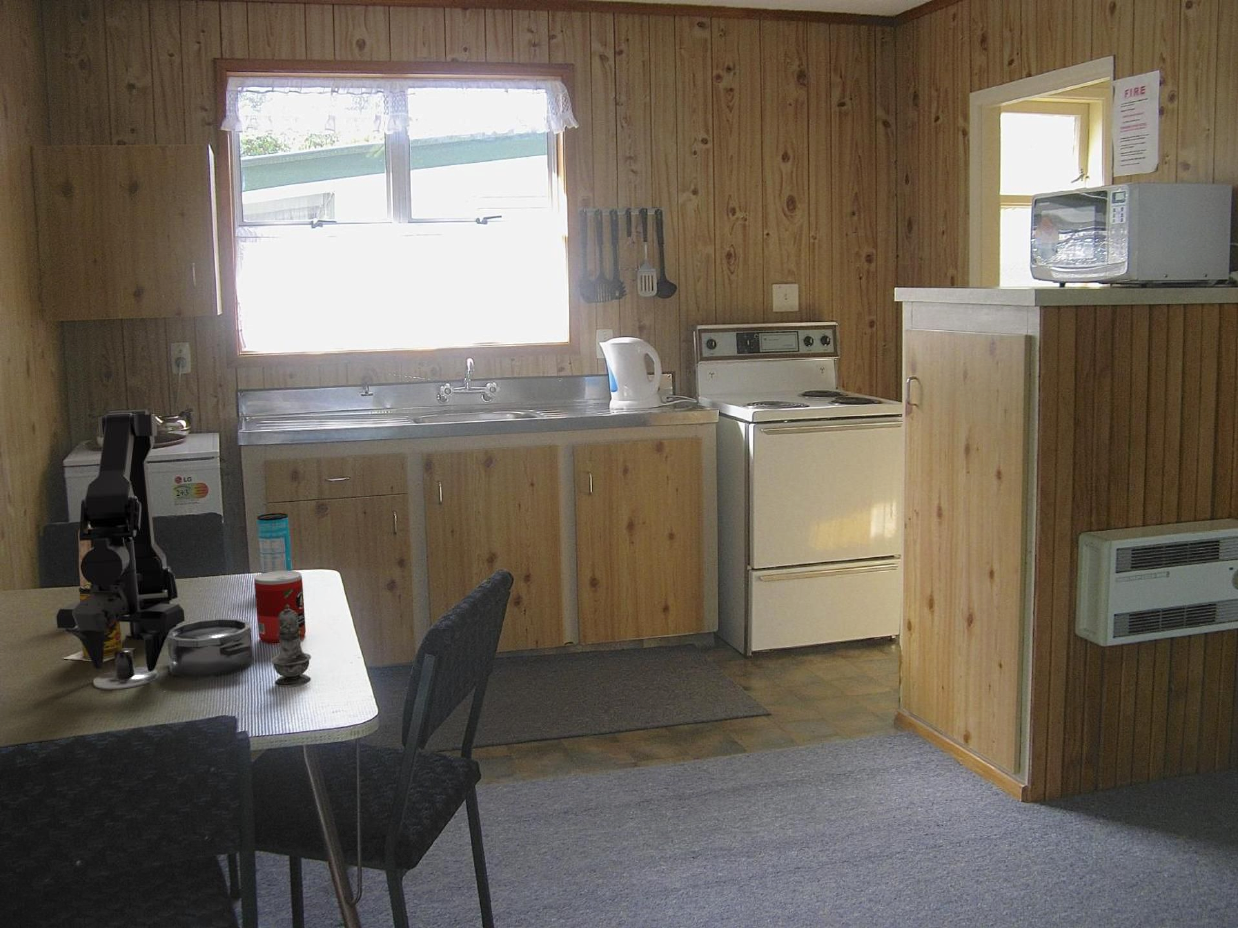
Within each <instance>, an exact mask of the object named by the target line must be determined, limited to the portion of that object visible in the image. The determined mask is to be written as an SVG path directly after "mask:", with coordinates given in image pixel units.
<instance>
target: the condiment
mask: <svg viewBox="0 0 1238 928" xmlns="http://www.w3.org/2000/svg"><path fill="white" fill-rule="evenodd" d="M90 586H91V583H88V584H85V585H83V586H81V587H80V586H79V588H78V592H79V602H81V601H82V600H83V599H85V598H86V597H88V596H89V595H90V592H91V589H90ZM122 643H123V642H122V631H121V622H111V623H110V625H109V627H108V628H107V629H106V630H104V659H103V663H104V662H107V661H110V660H112V659H115V656H114V652H115V651H117V650H121V649H132V650H134V649H136V648H135V647H123V644H122ZM81 645H82V646H81V647H82V648H81V649H82V650H81V651H78V652H76V653H74V654H73V653H72V654H70V655H68V656H65V657H62V659H63V660H64V659H67V660H75V661H76V660H77V661H78V660H79V661H85V662H86V661H87V662H92V660H91V659H90V657H89V655H88V653H87V651H86V649H85V647H84V645H83V644H82V643H81Z"/></svg>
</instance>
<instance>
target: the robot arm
mask: <svg viewBox="0 0 1238 928" xmlns="http://www.w3.org/2000/svg"><path fill="white" fill-rule="evenodd" d="M157 421H158V420H157V417H156V415H154V414H150V413H149V410H148V409H145V408H144V409H129V410H112V411H111V410H110V411H108V413H107V414H106V415H103V416H98V428H99V439H101V440H102V445H101V454H100V459H99V465H98V466H99V469H98V473H97V476H96V478H95V479H93V480H92V481H90V483H89V484H88V485H87V488H86V492H85V497H84V499H82V500H81V503H80V519H79V529H80V534H79V539H80V541H85V540H91V549H90V550H89V551H88V552H87V553H86V554H85V555H84V557H83V559H82V562H81V572H82V575H83V576H84V578H85V579H86V580H87V581H88V582H90V583H91V586H90V589H91V592H90V595H89V596H88V597H86V598H85V599H83V600H82V601H81V602H80V601H77V602H73V603H70V604H68V605H66V606H63V607H60V608H59V610H58V611H57V612H56V616H55V622H56V623H55V625H56V628H57V629H65V630H64V631H65V633H66V634H71V635H73V636H74V637H76V638H78V640H79V641H80V642H81V645H82V644H83V645H84V647H85V649H86V651H87V653H88V655H89V657H90V659H91V660H92V661H91V662H92V664H93V666H94V669H95V670H97V671H99V670H101V669H103V665H104V662H103V659H104V630H106V629H107V628H108V627H109V625H110V623H111V622H120V623H129V631H130V632H129V633H127V634H125V635H124V638H125V639H142V640H144V650H145V661H146V662H145V663H146V668H148V671H149V672H151V671H153V670H154V669H155V668H156V666H157V663H158V661H159V657H160V655H161V652H162V650H163V647H164V644H165V642H166V641H167V636H168V634H169V632H170V630H171V629H172V628H174V627H177V626H178V625H180V623H181V624H182V623H183V622H185V621H186V619H185V618H186V617H185V610H184V608H183V607H182V606H181V605H180V603H171V601H173V600H174V599H178V597H179V596H178V595H179V594H178V586H177V581H176V578H175V577H176V576H175V574H174V573H173V572H172V570H171V567H170V565H167V564H168V563H167V556H166V554H165V553H164V551H163V550H162V549H161V548H160V547H159V545H158V544H157V543H156V541H155V534H154V533H155V532H154V525H153V524H154V522H153V514H152V512H153V511H152V503H151V502H152V501H151V493H150V484H149V483H150V482H149V472H148V471H149V470H148V463H147V462H148V461H147V460H148V457H149V455H150V453H151V451H152V449H153V447H154V445H155V444H156V443H155V442H156V441H155V437H157V436H158V422H157ZM88 524H90V527H91V528H92V529H88ZM87 532H88V533H87ZM155 670H156V669H155Z"/></svg>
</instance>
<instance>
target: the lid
mask: <svg viewBox="0 0 1238 928" xmlns="http://www.w3.org/2000/svg"><path fill="white" fill-rule="evenodd" d="M133 655H134V654H133V649H121V650H117V651H115V652H114V656H115V658H114V663H115V664H114V665H115V669H114V670H111V671H107V672H105V673H101V674H100V675H98V676H96V677H95V678H94V679H93V686H94V687H95V688H97V689H101V690H121V689H122V688H123V689H128V688H129V689H130V688H135V687H139V685H140V686H142V685H145V684H146V685H147V684H148V683H151V682H153V681H155V680H156V679H157V678H158V674H159V673H158V670H157V669H154V670H153V671H151V672H149V671H148V668H147V666H145V667H144V666H142V667H141V666H138V667H135V665H134V656H133ZM154 679H155V680H154Z"/></svg>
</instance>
